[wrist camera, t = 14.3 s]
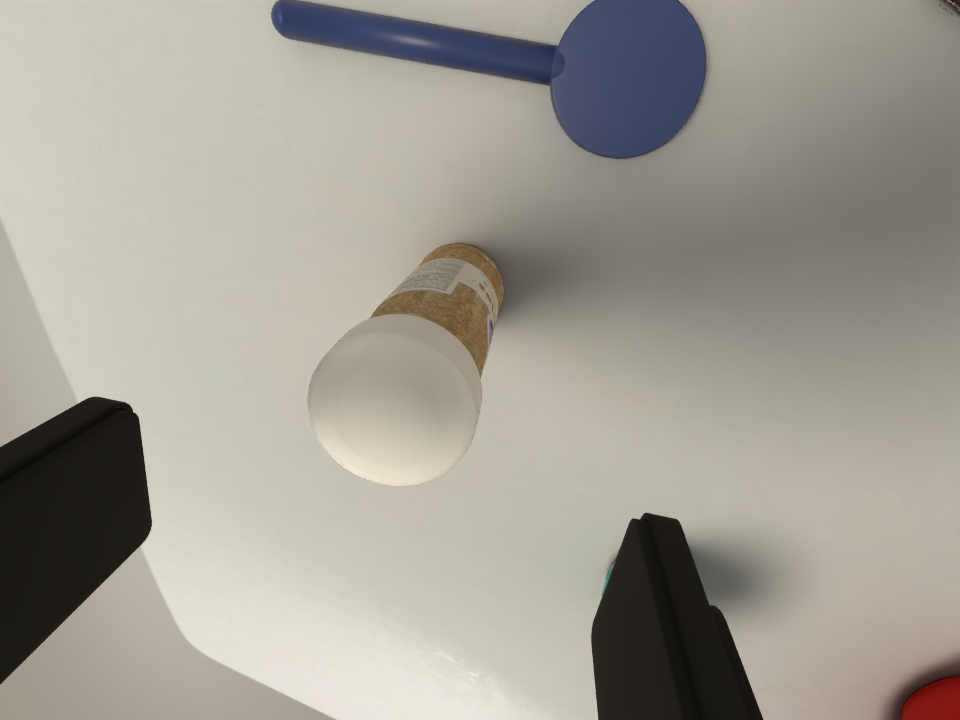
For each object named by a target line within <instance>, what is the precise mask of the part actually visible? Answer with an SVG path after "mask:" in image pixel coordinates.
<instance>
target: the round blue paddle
mask: <svg viewBox="0 0 960 720" xmlns="http://www.w3.org/2000/svg"><path fill="white" fill-rule="evenodd" d="M271 18H272V22H273V25H274V27H275V29H276V30H277V31H278V32H279V33H280V34H281V35H282V36H284V37H285V38H288V39H293V40H298V41H304V42H310V43H315V44H321V45H326V46H332V47H338V48H343V49H349V50H354V51H360V52H366V53H371V54H377V55H382V56H388V57H394V58H399V59H405V60H410V61H416V62H422V63H427V64H433V65H438V66H444V67H450V68H455V69H461V70H466V71H472V72H478V73H483V74H489V75H494V76H500V77H505V78H511V79H517V80H522V81H528V82H533V83H539V84H545V85H550V92H551V100H552V105H553V109H554V112H555V115H556V118H557V120H558V122H559V124H560V126H561V127H562V129H563V130H564V132H565V133H566V135H567V136H568V137H569V138H570V139H571V140H572V141H573V142H574V143H575V144H577V145H578V146H579V147H581V148H582V149H584V150H586V151H587V152H590V153H592V154H595V155H598V156H602V157H606V158H615V159H621V158H631V157H636V156H640V155H643V154H646V153H648V152H650V151H653V150H655V149H656V148H658V147H660V146H661V145H663V144H664V143H666V142H667V141H668V140H670V139H671V138H672V137H673V136H674V135H675V134H676V133H677V132H678V131H679V130H680V129H681V128H682V127H683V125H684V124H685V123H686V122H687V120H688V119H689V117H690V116H691V114H692V112H693V111H694V109H695V107H696V105H697V103H698V100H699V97H700V95H701V92H702V88H703V84H704V80H705V72H706V53H705V45H704V41H703V37H702V34H701V31H700V29H699V27H698V24H697V23H696V21H695V19H694V17H693V16H692V14H691V13H690V12H689V11H688V9H687V8H686V7H685V6H684V5H683V4H682V3H681V2H679V1H678V0H595V1H593V2H592V3H590V4H589V5H588V6H587V7H585V8H584V9H583V10H582V11H581V12H580V13H579V14H578V15H577V16H576V18H575V19H574V20H573V21H572V22H571V24H570V25H569V27H568V28H567V30H566V31H565V33H564V35H563V37H562V39H561V41H560V43H559V45H558V46H554V45H548V44H543V43H537V42H531V41H526V40H520V39H514V38H509V37H503V36H497V35H492V34H486V33H480V32H475V31H469V30H463V29H458V28H452V27H446V26H441V25H435V24H429V23H424V22H418V21H412V20H407V19H401V18H395V17H390V16H384V15H378V14H373V13H367V12H361V11H356V10H350V9H344V8H339V7H333V6H327V5H322V4H316V3H310V2H305V1H299V0H278V1H277V2H276V3H275V4H274V6H273V8H272V12H271Z"/></svg>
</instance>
